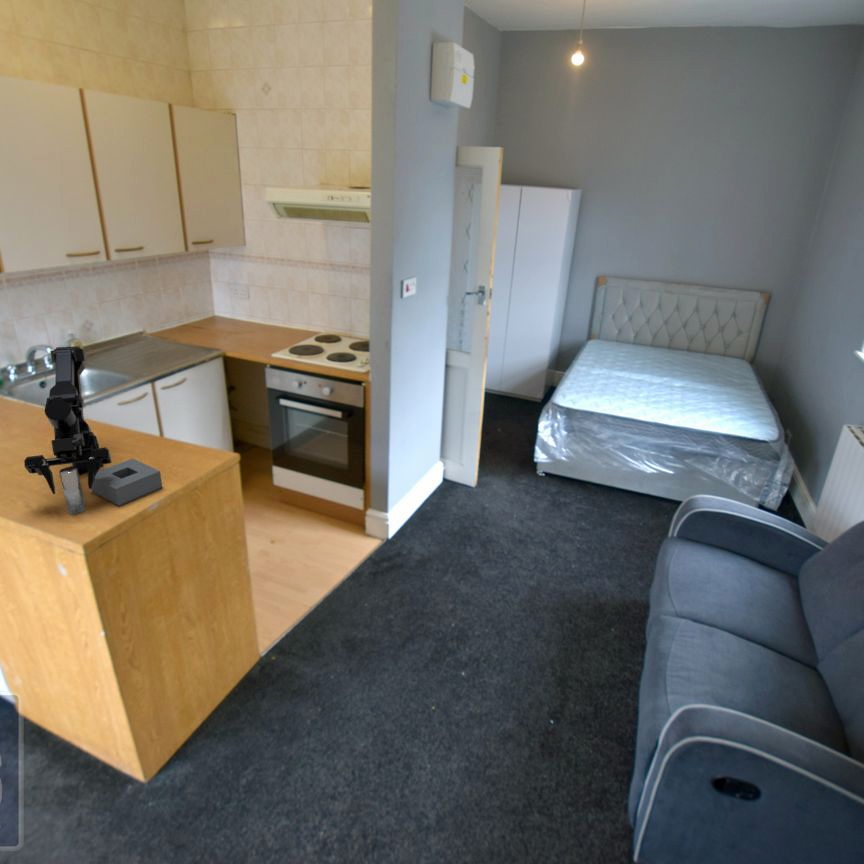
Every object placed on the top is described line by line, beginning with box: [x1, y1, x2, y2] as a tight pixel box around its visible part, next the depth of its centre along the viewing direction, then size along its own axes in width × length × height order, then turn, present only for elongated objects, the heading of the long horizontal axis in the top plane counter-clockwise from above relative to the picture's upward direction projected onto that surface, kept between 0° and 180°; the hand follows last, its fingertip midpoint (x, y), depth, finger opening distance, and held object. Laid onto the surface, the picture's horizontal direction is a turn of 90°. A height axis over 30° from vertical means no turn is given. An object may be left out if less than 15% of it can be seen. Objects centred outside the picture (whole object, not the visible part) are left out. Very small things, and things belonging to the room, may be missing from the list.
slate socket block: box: [90, 458, 163, 508], centre depth 162 cm, size 13×13×6 cm
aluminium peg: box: [59, 466, 87, 516], centre depth 149 cm, size 4×4×12 cm
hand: (72, 491), depth 148 cm, fingers open, 8 cm apart
